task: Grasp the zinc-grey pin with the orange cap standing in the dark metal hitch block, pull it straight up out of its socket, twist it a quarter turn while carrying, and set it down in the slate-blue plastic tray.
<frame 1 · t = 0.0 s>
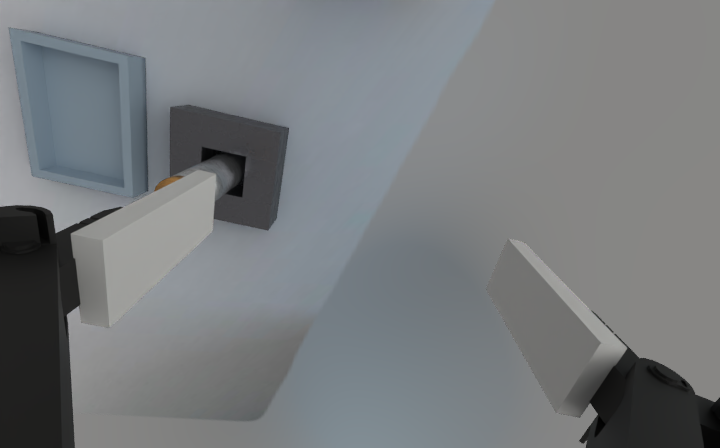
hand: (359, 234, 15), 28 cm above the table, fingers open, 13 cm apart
hitch block: (235, 165, 43), on the table
steel pin: (211, 179, 36), in the hitch block
tray: (96, 117, 41), on the table
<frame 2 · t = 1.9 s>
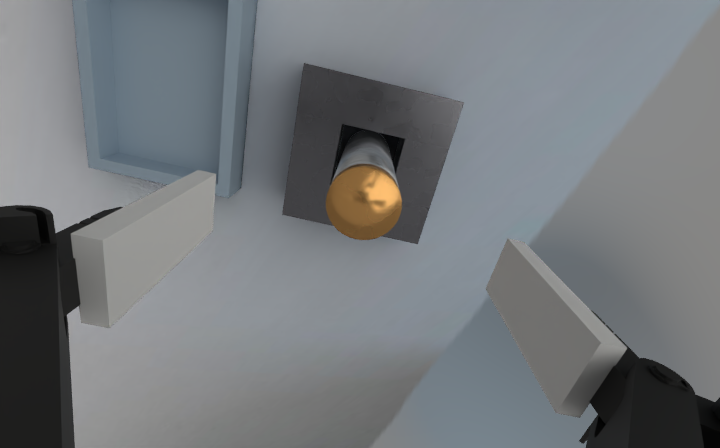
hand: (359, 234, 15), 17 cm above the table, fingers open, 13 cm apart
hitch block: (367, 152, 31), on the table
steel pin: (365, 172, 24), in the hitch block
tray: (178, 84, 29), on the table
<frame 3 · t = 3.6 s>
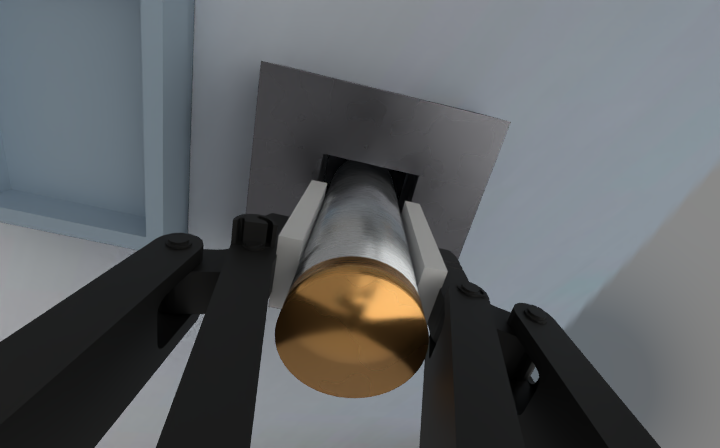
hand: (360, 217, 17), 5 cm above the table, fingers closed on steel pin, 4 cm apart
hitch block: (362, 188, 22), on the table
steel pin: (359, 232, 15), in the hitch block, touching gripper
tray: (88, 93, 20), on the table
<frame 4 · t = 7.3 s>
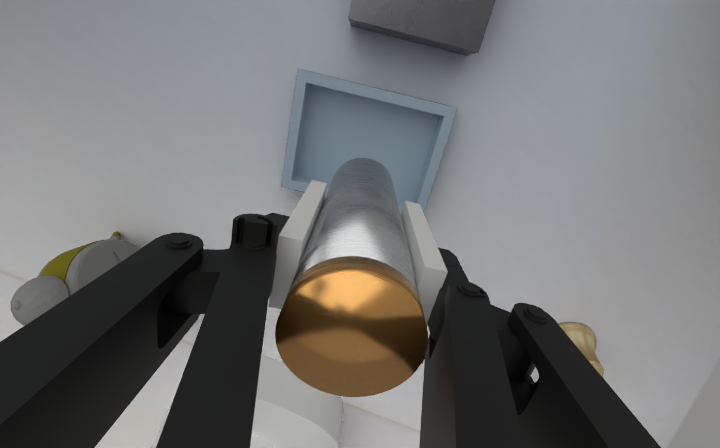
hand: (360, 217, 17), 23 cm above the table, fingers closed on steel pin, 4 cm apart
alarm clock: (151, 259, 45), on the table
hand bell: (563, 344, 48), on the table
tissue box: (258, 413, 55), on the table
steel pin: (359, 232, 15), point 24 cm above the table, touching gripper
tray: (364, 144, 38), on the table
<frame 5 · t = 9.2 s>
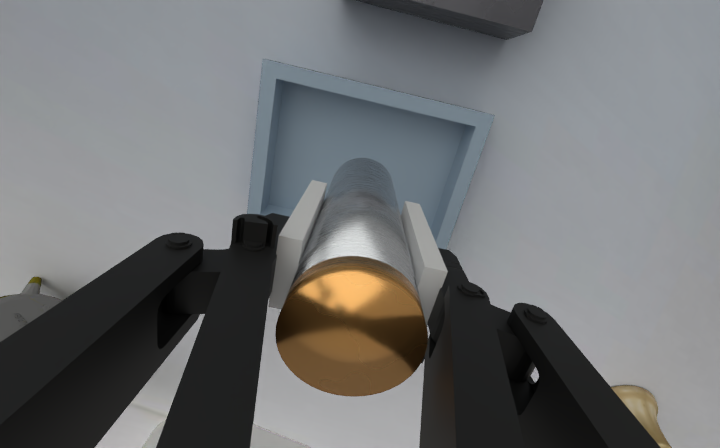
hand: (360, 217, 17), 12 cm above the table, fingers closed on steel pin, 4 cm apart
alarm clock: (86, 310, 34), on the table
hand bell: (614, 409, 38), on the table
steel pin: (359, 232, 15), point 13 cm above the table, touching gripper
tray: (362, 164, 28), on the table
when the fingers open (7 cm above the table, at t = 10.8 s): steel pin drops 1 cm, resting on tray.
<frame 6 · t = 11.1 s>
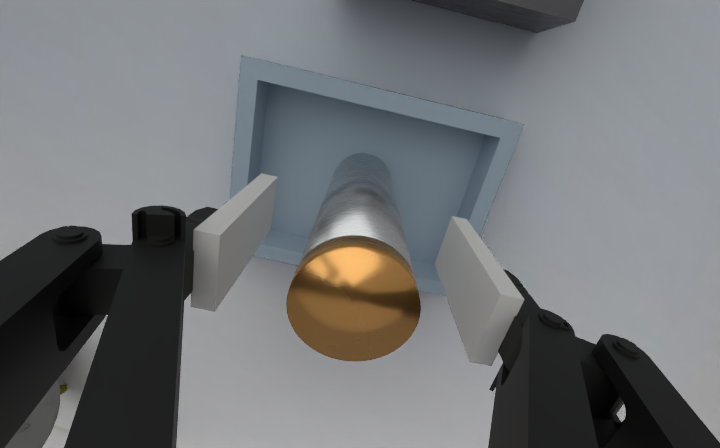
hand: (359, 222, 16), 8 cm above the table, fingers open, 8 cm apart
alarm clock: (50, 342, 30), on the table
steel pin: (359, 221, 17), in the tray, point 8 cm above the table
tray: (362, 180, 24), on the table
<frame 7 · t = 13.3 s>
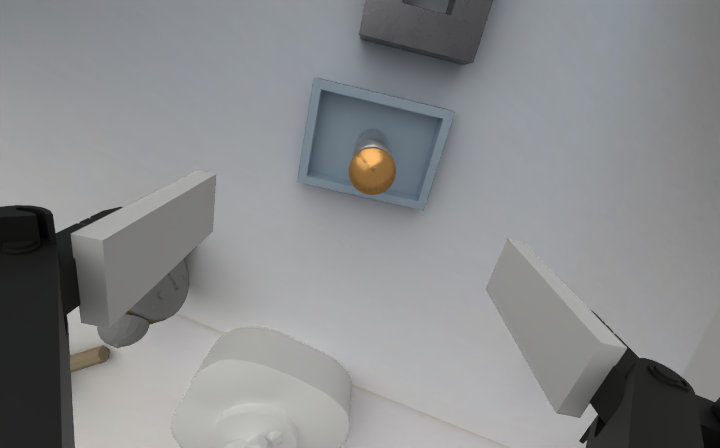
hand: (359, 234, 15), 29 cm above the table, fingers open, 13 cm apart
alarm clock: (177, 249, 49), on the table
tissue box: (272, 389, 59), on the table
steel pin: (372, 156, 35), in the tray, point 8 cm above the table
tray: (372, 144, 42), on the table
decorative object: (46, 357, 58), on the table
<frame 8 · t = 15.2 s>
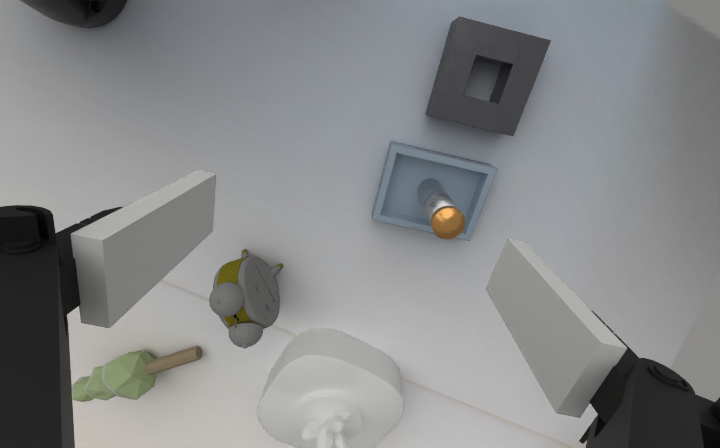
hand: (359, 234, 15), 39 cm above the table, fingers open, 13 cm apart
alarm clock: (266, 269, 61), on the table
hitch block: (478, 80, 48), on the table
tissue box: (333, 379, 71), on the table
steel pin: (437, 205, 47), in the tray, point 8 cm above the table
tray: (429, 189, 54), on the table
decorative object: (147, 355, 70), on the table
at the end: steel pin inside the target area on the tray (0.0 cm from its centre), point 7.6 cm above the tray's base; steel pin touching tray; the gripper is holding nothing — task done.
